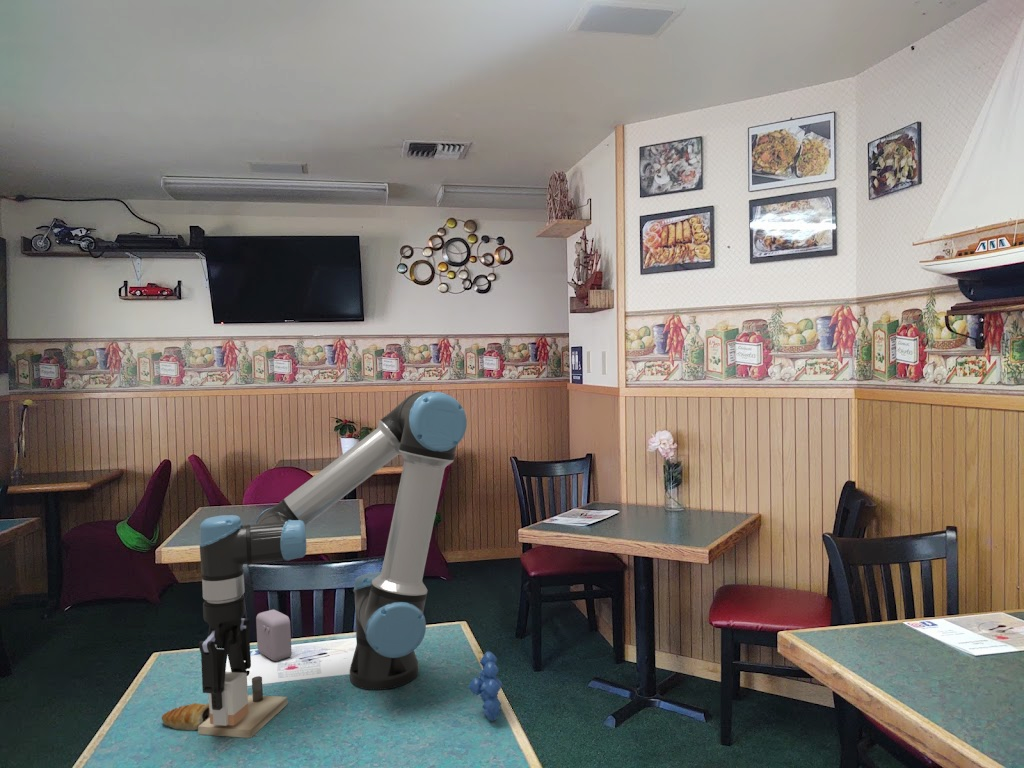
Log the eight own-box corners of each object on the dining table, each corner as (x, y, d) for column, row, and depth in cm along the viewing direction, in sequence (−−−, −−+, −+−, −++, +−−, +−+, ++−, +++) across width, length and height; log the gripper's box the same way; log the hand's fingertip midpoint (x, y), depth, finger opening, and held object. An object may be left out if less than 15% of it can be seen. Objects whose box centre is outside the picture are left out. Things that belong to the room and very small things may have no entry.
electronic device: (255, 653, 183) (253, 612, 183) (273, 647, 186) (271, 608, 186) (273, 664, 176) (271, 622, 175) (291, 658, 179) (289, 617, 178)
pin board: (287, 704, 154) (286, 675, 154) (250, 738, 140) (248, 706, 140) (239, 701, 156) (238, 672, 156) (198, 734, 143) (196, 703, 142)
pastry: (154, 731, 145) (153, 712, 145) (174, 715, 151) (173, 696, 151) (200, 732, 144) (199, 712, 144) (217, 716, 150) (217, 697, 150)
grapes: (467, 703, 151) (465, 645, 151) (500, 700, 152) (498, 642, 152) (471, 731, 140) (468, 668, 139) (506, 727, 140) (504, 665, 140)
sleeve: (225, 711, 146) (223, 671, 146) (248, 713, 145) (246, 672, 145) (210, 723, 141) (208, 682, 141) (233, 725, 140) (231, 683, 140)
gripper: (233, 583, 152) (238, 695, 153) (176, 612, 135) (182, 739, 135) (266, 584, 151) (271, 697, 151) (213, 614, 133) (219, 742, 134)
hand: (229, 716), depth 143 cm, fingers closed on sleeve, 5 cm apart
